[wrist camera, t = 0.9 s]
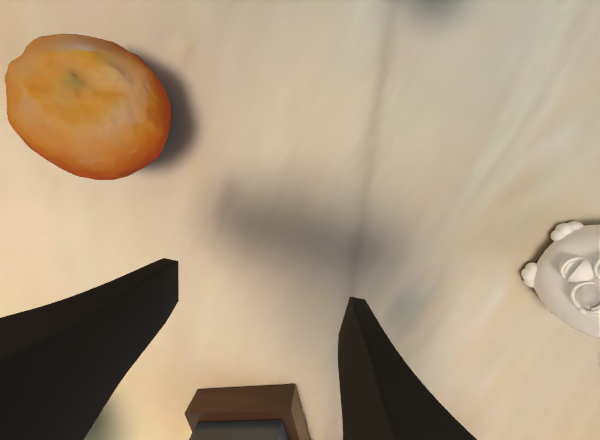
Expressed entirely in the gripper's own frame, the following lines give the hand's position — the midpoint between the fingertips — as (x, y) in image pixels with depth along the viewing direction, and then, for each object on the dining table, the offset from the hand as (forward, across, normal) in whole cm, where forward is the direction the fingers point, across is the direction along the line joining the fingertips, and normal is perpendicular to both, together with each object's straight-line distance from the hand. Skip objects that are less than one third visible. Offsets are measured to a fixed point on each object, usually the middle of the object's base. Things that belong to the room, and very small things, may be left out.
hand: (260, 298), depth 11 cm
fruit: (+11, +12, -5) cm, 17 cm away
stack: (+8, 0, +23) cm, 24 cm away
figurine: (+9, -20, -1) cm, 22 cm away
